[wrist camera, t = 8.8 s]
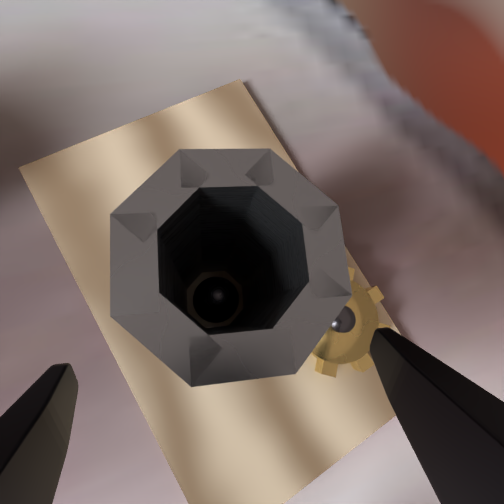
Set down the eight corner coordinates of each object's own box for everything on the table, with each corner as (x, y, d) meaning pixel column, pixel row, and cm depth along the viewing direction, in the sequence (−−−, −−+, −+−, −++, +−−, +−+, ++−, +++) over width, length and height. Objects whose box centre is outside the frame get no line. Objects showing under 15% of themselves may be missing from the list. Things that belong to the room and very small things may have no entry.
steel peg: (207, 331, 19) (207, 333, 16) (184, 291, 20) (180, 284, 16) (246, 308, 20) (255, 304, 17) (224, 269, 20) (228, 258, 17)
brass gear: (317, 396, 20) (328, 403, 18) (261, 300, 20) (266, 298, 19) (398, 337, 21) (416, 339, 19) (344, 250, 22) (356, 244, 20)
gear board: (215, 549, 18) (215, 556, 17) (23, 171, 20) (18, 167, 20) (426, 384, 21) (433, 385, 21) (239, 84, 24) (240, 79, 24)
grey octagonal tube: (279, 354, 20) (412, 407, 7) (155, 368, 19) (53, 461, 6) (267, 238, 21) (359, 114, 9) (151, 244, 20) (64, 110, 7)
